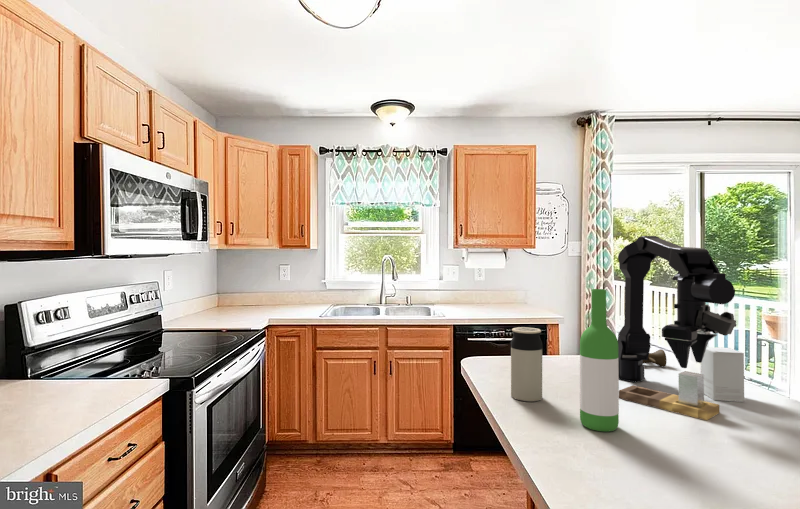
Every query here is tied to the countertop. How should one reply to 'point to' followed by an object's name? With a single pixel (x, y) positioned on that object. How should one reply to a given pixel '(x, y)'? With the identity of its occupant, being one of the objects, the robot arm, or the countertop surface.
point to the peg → (691, 389)
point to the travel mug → (526, 364)
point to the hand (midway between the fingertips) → (691, 365)
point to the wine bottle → (599, 370)
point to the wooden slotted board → (667, 402)
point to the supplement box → (723, 374)
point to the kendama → (657, 358)
